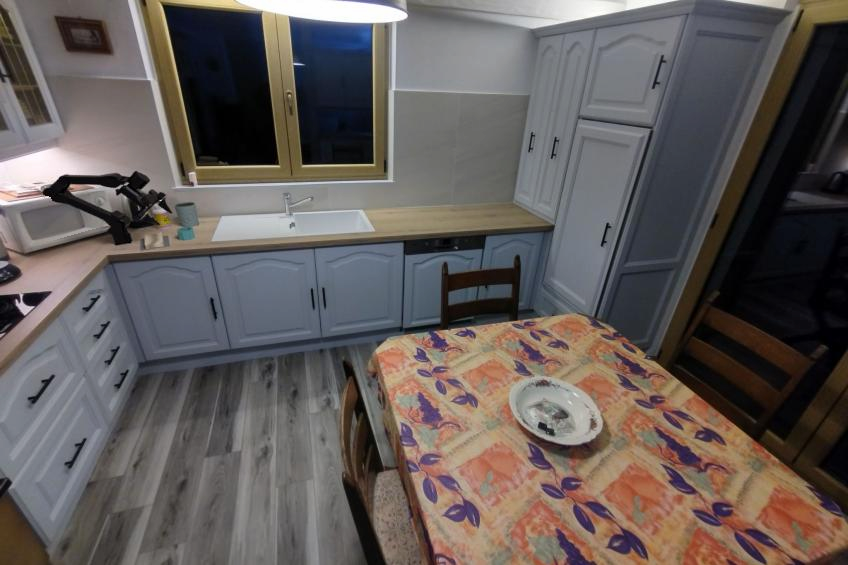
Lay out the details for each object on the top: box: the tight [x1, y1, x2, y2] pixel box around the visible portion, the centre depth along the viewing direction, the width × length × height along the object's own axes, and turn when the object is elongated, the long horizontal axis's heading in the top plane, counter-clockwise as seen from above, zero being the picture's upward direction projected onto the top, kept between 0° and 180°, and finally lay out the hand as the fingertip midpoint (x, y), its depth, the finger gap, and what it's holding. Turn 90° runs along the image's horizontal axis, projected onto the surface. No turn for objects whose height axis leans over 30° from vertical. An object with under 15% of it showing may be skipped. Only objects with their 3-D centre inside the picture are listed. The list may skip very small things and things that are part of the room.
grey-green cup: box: [173, 201, 200, 228], centre depth 212 cm, size 10×10×12 cm
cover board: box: [144, 232, 164, 249], centre depth 190 cm, size 7×14×2 cm, turn 33°
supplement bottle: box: [152, 203, 172, 230], centre depth 208 cm, size 7×7×13 cm
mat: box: [139, 234, 171, 252], centre depth 190 cm, size 12×17×1 cm
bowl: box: [176, 227, 196, 241], centre depth 196 cm, size 7×7×5 cm
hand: (166, 219), depth 190 cm, fingers open, 9 cm apart
